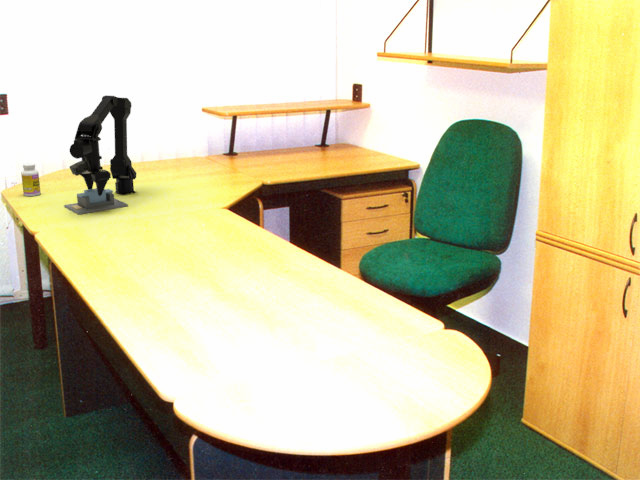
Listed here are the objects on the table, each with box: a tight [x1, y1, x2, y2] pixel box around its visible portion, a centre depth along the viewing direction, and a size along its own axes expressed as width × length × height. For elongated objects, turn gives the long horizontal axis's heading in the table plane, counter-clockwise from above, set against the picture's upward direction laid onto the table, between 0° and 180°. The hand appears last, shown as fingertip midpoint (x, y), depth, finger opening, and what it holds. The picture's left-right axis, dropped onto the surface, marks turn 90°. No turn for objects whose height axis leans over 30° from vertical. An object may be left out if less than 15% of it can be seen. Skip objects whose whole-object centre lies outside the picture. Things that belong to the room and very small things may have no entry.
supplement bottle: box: [21, 162, 41, 197], centre depth 295 cm, size 7×7×13 cm
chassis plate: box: [63, 192, 129, 216], centre depth 279 cm, size 20×14×5 cm
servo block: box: [76, 187, 114, 204], centre depth 279 cm, size 13×4×6 cm, turn 130°
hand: (95, 193), depth 279 cm, fingers open, 9 cm apart
